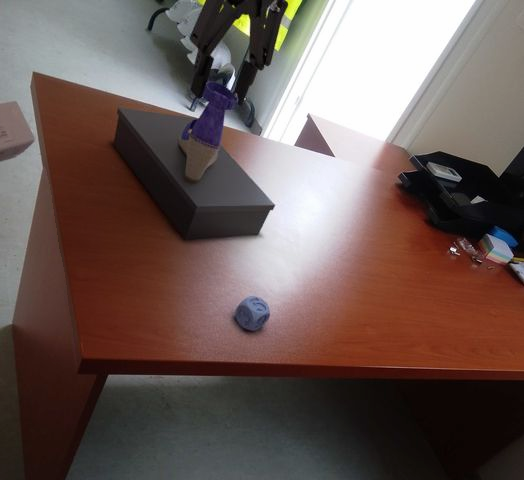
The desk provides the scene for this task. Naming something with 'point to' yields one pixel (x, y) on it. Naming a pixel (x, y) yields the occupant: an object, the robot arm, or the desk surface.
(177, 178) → the shoebox
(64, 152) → the desk surface
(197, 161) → the sandal
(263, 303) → the decorative dice
